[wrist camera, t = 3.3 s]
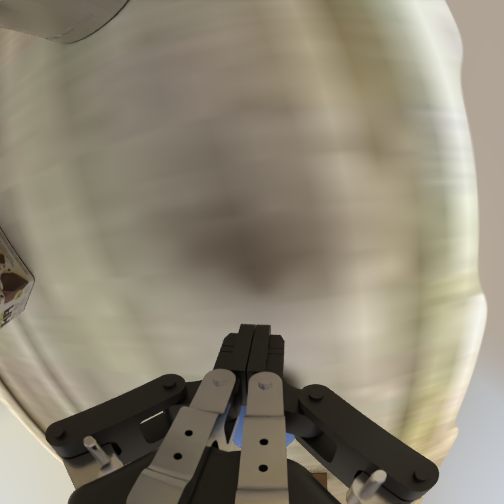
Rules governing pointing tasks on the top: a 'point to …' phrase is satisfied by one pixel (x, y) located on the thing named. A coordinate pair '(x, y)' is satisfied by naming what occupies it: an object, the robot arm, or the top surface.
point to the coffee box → (12, 282)
